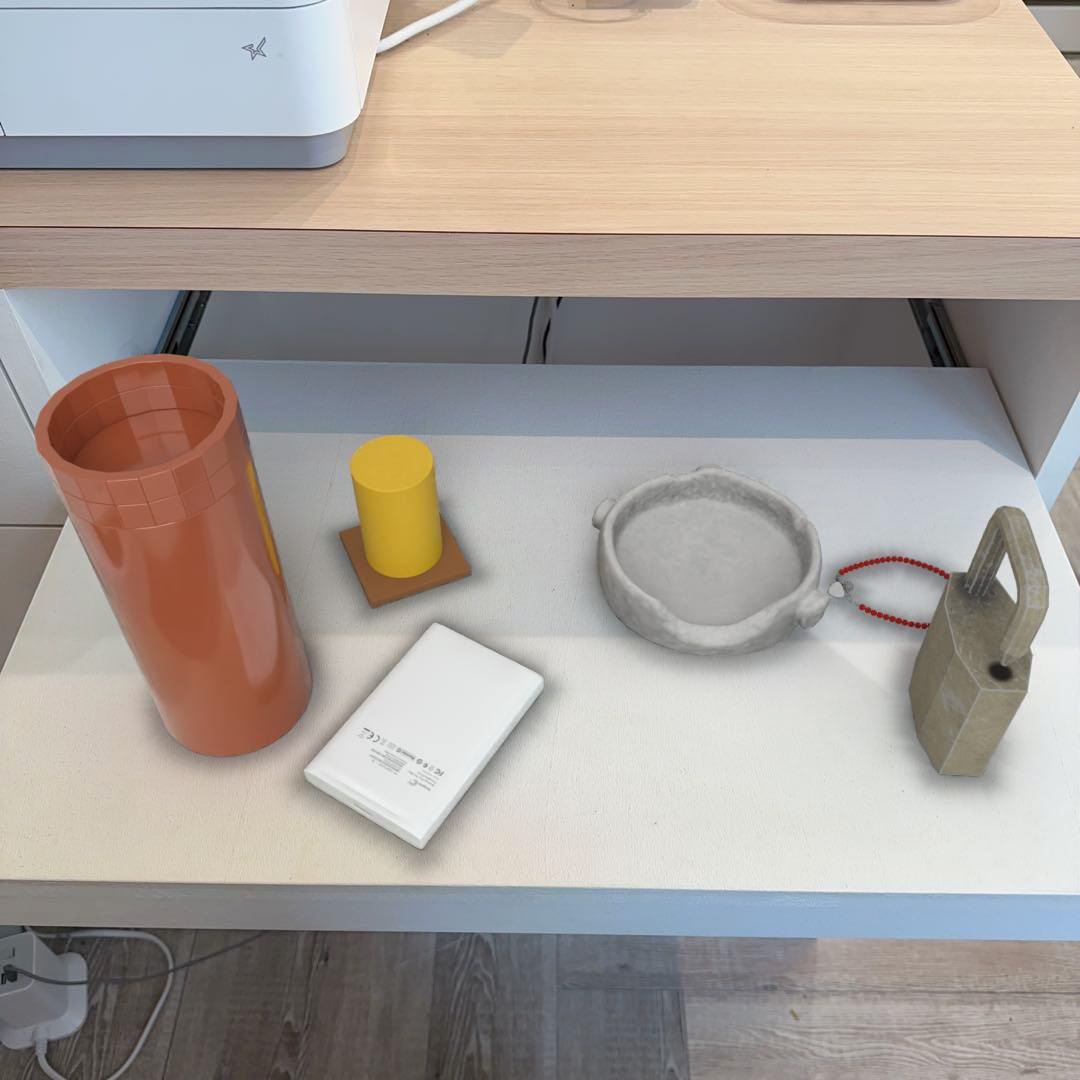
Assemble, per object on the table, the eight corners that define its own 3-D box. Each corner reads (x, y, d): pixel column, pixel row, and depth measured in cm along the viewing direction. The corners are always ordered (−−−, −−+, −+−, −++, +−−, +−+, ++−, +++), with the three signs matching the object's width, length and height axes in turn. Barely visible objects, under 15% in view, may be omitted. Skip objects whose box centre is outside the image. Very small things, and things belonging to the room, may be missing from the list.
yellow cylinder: (379, 588, 70) (364, 500, 65) (355, 536, 74) (339, 448, 68) (454, 563, 72) (445, 476, 66) (427, 513, 75) (417, 425, 69)
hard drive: (544, 692, 65) (422, 852, 58) (434, 636, 68) (306, 781, 61) (544, 676, 64) (420, 837, 57) (433, 619, 67) (301, 766, 60)
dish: (845, 646, 68) (862, 594, 64) (634, 692, 65) (640, 641, 62) (755, 491, 77) (766, 438, 74) (569, 527, 75) (570, 474, 71)
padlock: (924, 773, 61) (1005, 603, 50) (902, 659, 67) (970, 483, 56) (995, 778, 61) (1092, 608, 50) (967, 662, 67) (1048, 487, 56)
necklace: (824, 617, 69) (827, 607, 68) (826, 549, 73) (829, 539, 72) (964, 638, 68) (969, 628, 67) (959, 568, 72) (963, 558, 71)
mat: (371, 608, 70) (370, 602, 70) (339, 537, 74) (338, 531, 74) (471, 575, 72) (471, 569, 72) (435, 507, 76) (434, 501, 76)
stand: (178, 779, 61) (47, 504, 45) (149, 663, 67) (24, 383, 51) (330, 724, 64) (257, 445, 48) (290, 617, 70) (213, 335, 54)
